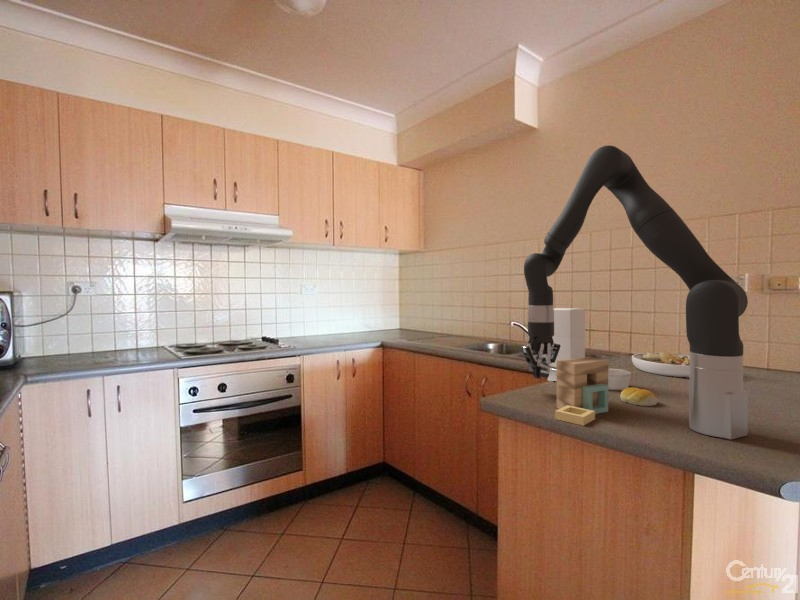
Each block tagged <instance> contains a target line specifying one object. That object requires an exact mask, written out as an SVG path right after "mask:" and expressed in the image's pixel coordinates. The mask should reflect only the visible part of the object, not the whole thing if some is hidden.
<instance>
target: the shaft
mask: <svg viewBox="0 0 800 600" xmlns="http://www.w3.org/2000/svg"><path fill="white" fill-rule="evenodd" d="M527 364H528V363H527ZM527 367H528V371H530V372H532V373H533V366H532V365H531V364H528V366H527ZM540 367H541V373H542V372H543V373H547V374H551V375H554V376H557V367H553V366H548V365H544V364H542V363H541V364H540Z"/></svg>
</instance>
